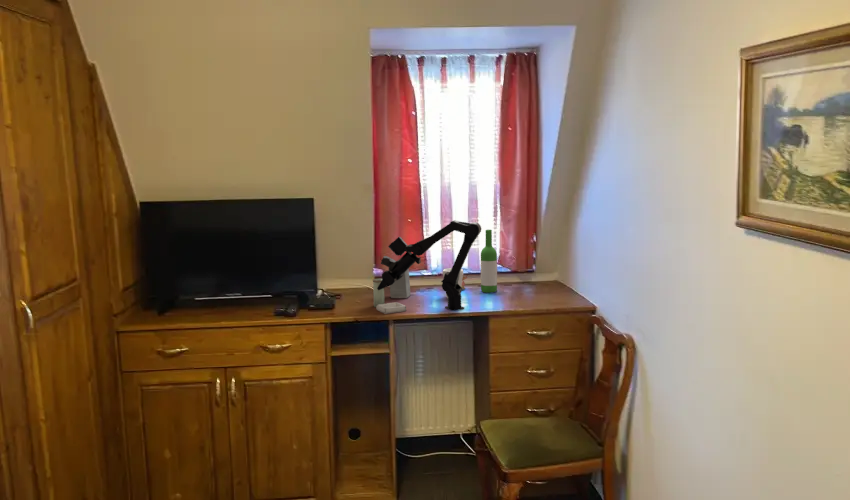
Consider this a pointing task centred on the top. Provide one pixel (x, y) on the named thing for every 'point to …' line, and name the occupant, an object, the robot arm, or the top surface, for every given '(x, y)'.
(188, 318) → the top surface
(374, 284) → the peg
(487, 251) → the wine bottle
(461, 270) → the foam cup
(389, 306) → the tray
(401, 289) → the skincare box
